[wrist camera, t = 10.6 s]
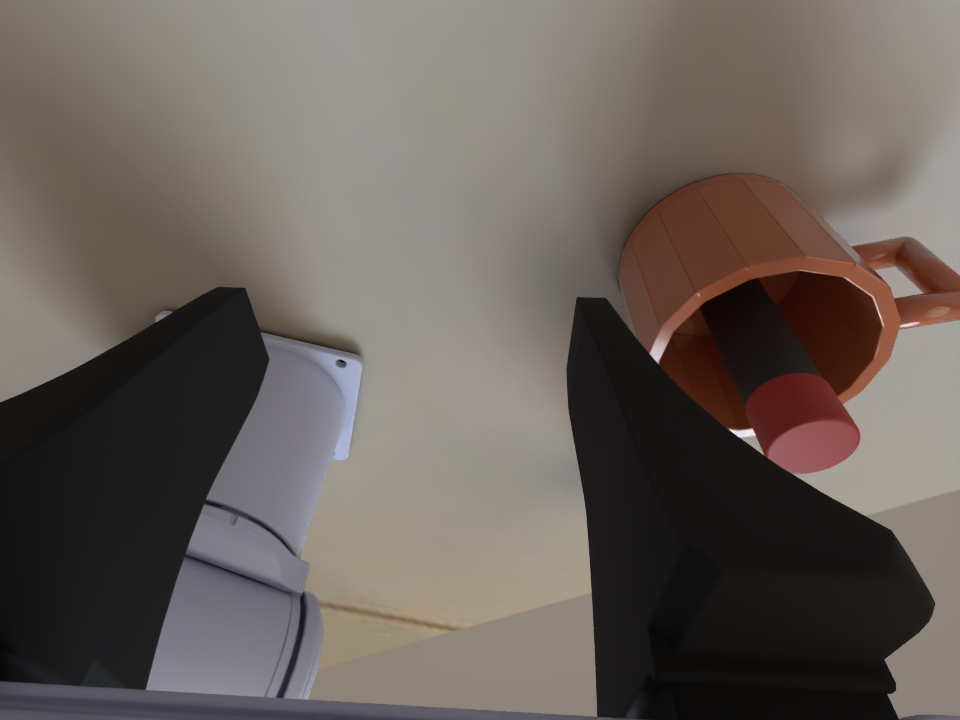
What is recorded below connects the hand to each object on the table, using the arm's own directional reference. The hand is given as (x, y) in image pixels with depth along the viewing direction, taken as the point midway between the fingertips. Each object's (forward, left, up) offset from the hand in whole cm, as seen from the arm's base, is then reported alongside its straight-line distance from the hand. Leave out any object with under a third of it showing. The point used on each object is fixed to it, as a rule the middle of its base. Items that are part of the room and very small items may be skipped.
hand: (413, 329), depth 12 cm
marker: (+11, -1, -9) cm, 14 cm away
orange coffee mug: (+12, 0, -10) cm, 16 cm away
